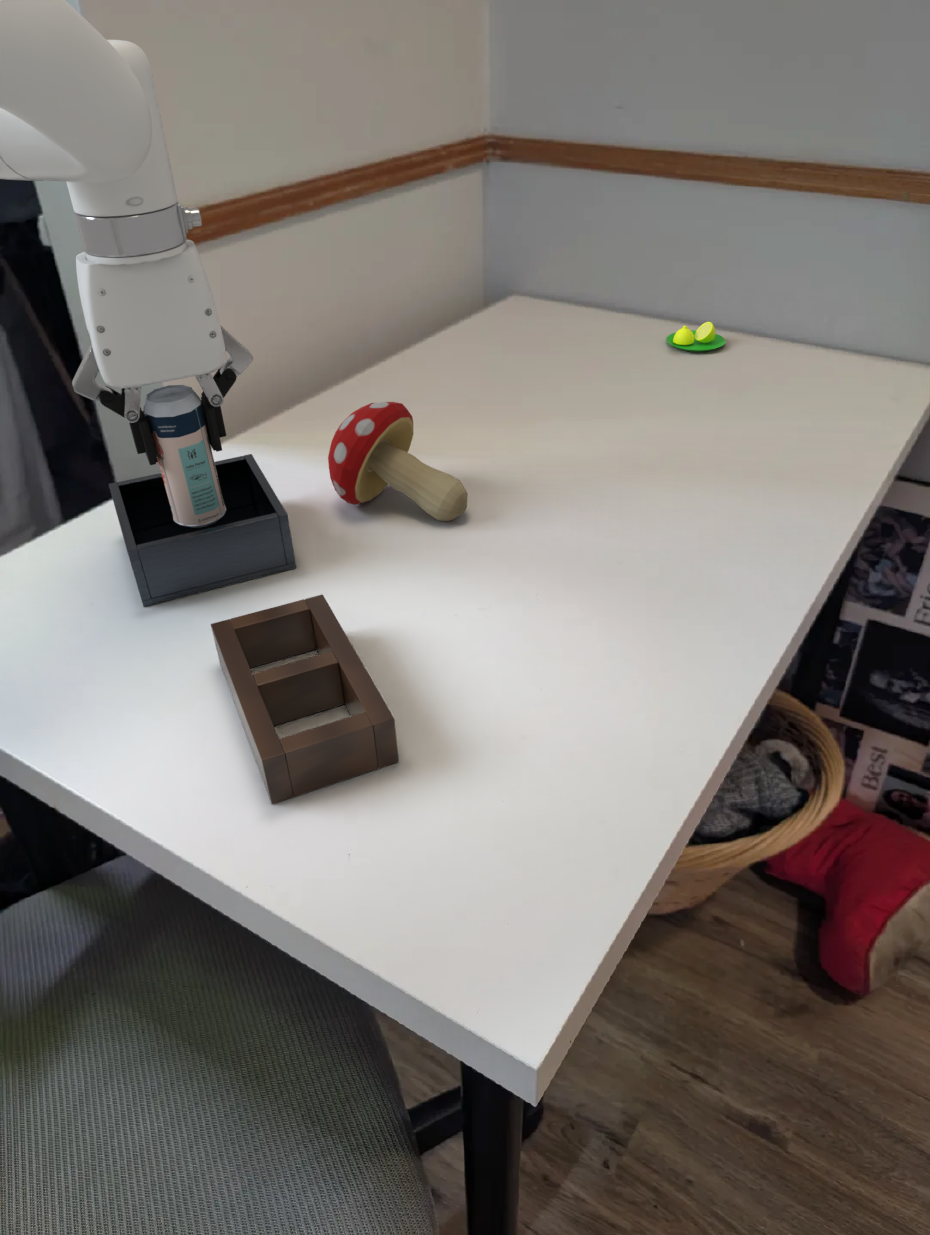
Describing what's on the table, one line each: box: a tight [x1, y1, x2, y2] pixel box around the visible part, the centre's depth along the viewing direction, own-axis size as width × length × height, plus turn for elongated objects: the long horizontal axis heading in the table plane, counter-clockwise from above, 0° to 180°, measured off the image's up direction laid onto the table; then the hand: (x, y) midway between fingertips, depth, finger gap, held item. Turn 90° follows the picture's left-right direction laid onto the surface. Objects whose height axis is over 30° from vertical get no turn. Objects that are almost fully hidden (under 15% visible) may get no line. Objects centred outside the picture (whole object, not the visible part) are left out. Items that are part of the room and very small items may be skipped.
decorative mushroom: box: [327, 401, 468, 522], centre depth 90 cm, size 11×11×15 cm
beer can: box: [143, 384, 226, 528], centre depth 81 cm, size 5×5×12 cm
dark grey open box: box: [108, 453, 297, 607], centre depth 85 cm, size 14×14×6 cm
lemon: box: [665, 321, 726, 353], centre depth 126 cm, size 8×8×3 cm
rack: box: [210, 594, 400, 805], centre depth 66 cm, size 9×16×4 cm, turn 24°
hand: (183, 450), depth 80 cm, fingers closed on beer can, 4 cm apart
